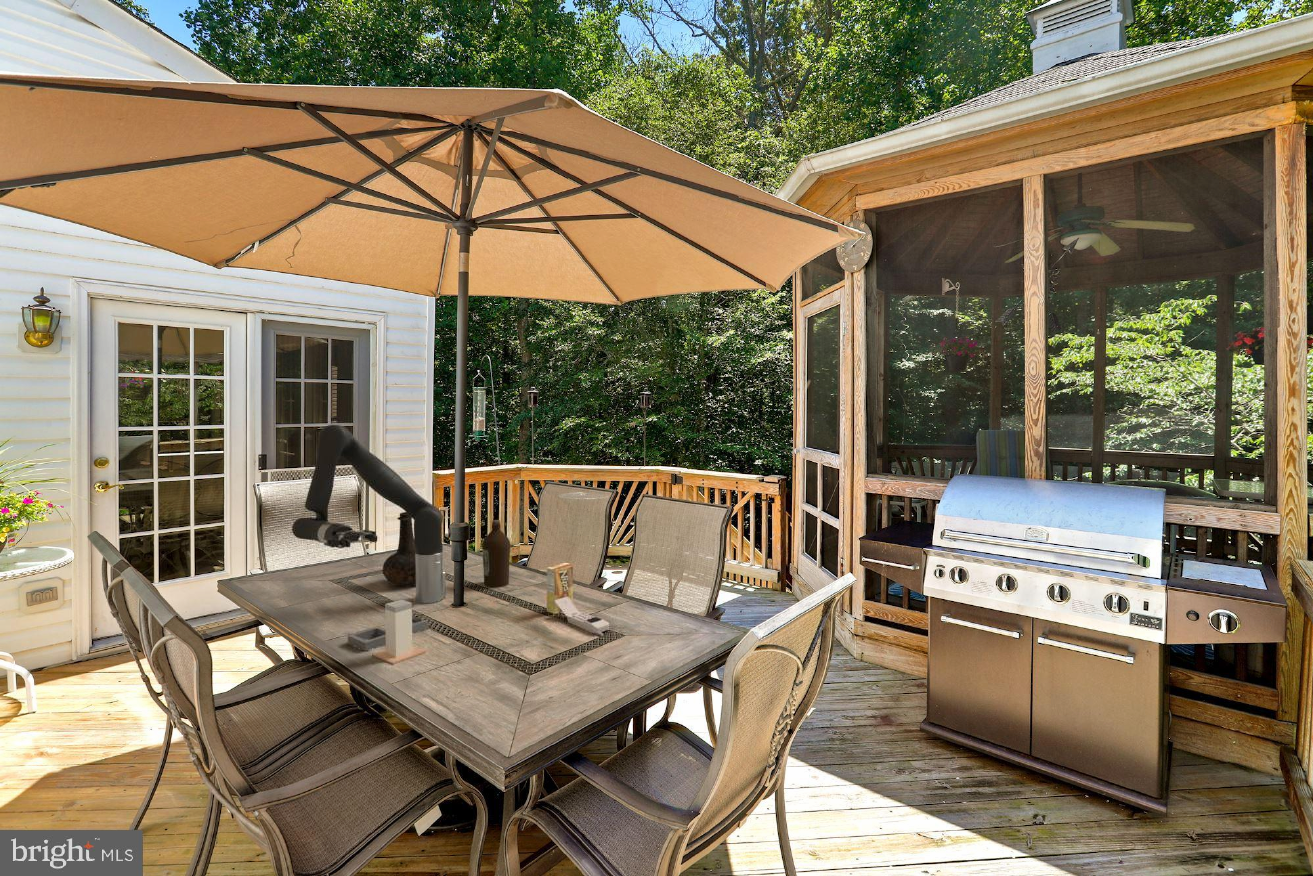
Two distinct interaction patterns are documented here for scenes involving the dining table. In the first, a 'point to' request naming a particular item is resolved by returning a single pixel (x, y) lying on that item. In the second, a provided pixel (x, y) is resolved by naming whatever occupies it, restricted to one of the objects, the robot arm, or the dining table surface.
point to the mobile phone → (581, 617)
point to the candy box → (559, 585)
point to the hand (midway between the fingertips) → (362, 541)
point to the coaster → (394, 660)
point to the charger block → (398, 628)
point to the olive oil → (496, 557)
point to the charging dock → (380, 635)
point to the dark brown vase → (402, 556)
